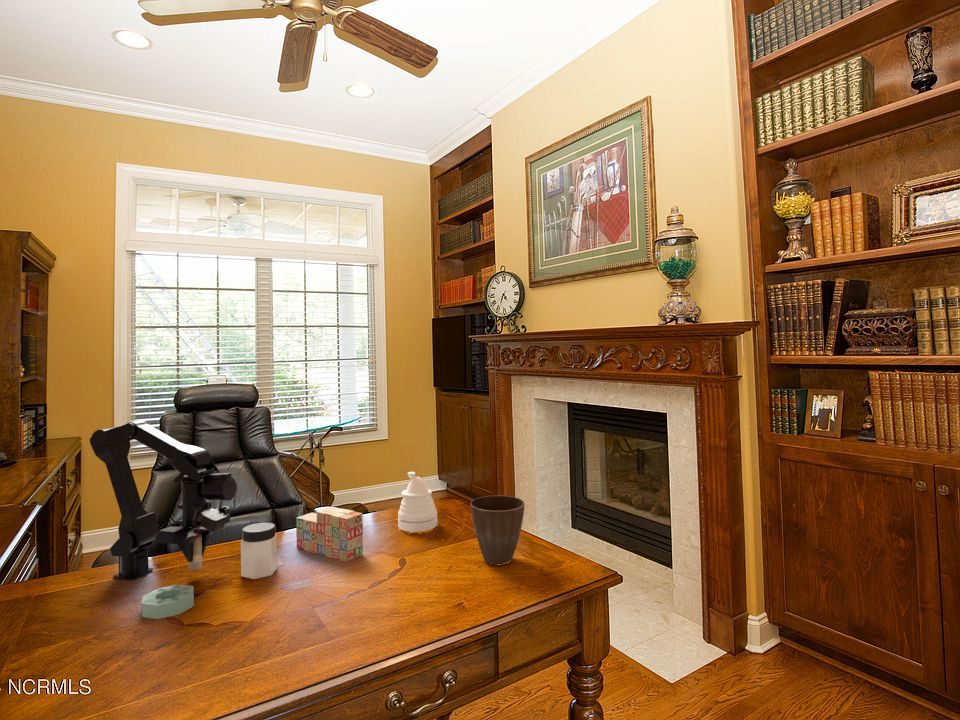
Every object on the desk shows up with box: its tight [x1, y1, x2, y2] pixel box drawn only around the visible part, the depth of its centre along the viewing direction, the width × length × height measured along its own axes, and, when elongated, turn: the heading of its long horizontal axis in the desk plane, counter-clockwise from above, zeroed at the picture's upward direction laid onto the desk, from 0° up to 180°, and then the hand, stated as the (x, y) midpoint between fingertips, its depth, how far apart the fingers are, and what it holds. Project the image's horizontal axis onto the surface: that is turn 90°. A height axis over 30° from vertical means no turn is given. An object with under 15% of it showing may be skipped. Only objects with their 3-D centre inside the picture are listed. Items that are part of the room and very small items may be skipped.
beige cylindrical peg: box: [188, 533, 203, 572], centre depth 138 cm, size 3×3×8 cm
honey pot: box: [397, 471, 438, 532], centre depth 177 cm, size 13×13×18 cm
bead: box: [141, 584, 195, 620], centre depth 121 cm, size 10×10×3 cm
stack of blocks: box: [295, 506, 364, 563], centre depth 155 cm, size 21×6×12 cm, turn 58°
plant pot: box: [470, 495, 526, 564], centre depth 147 cm, size 15×15×16 cm
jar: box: [240, 522, 278, 580], centre depth 141 cm, size 9×8×12 cm
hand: (195, 559), depth 138 cm, fingers closed on beige cylindrical peg, 3 cm apart
